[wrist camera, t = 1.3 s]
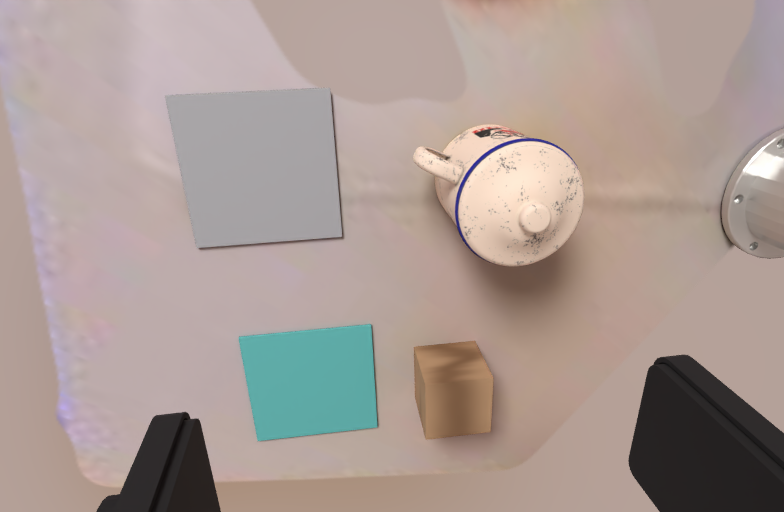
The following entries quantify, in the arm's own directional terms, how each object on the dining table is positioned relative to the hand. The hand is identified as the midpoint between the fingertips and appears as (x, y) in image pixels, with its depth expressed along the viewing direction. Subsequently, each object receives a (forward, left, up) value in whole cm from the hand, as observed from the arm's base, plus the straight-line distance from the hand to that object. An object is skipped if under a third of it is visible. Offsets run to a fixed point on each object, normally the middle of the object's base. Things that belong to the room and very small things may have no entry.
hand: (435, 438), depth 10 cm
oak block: (-7, +22, -32) cm, 40 cm away
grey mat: (+8, +1, -32) cm, 33 cm away
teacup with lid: (-9, +2, -32) cm, 34 cm away
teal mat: (+6, +22, -32) cm, 39 cm away
